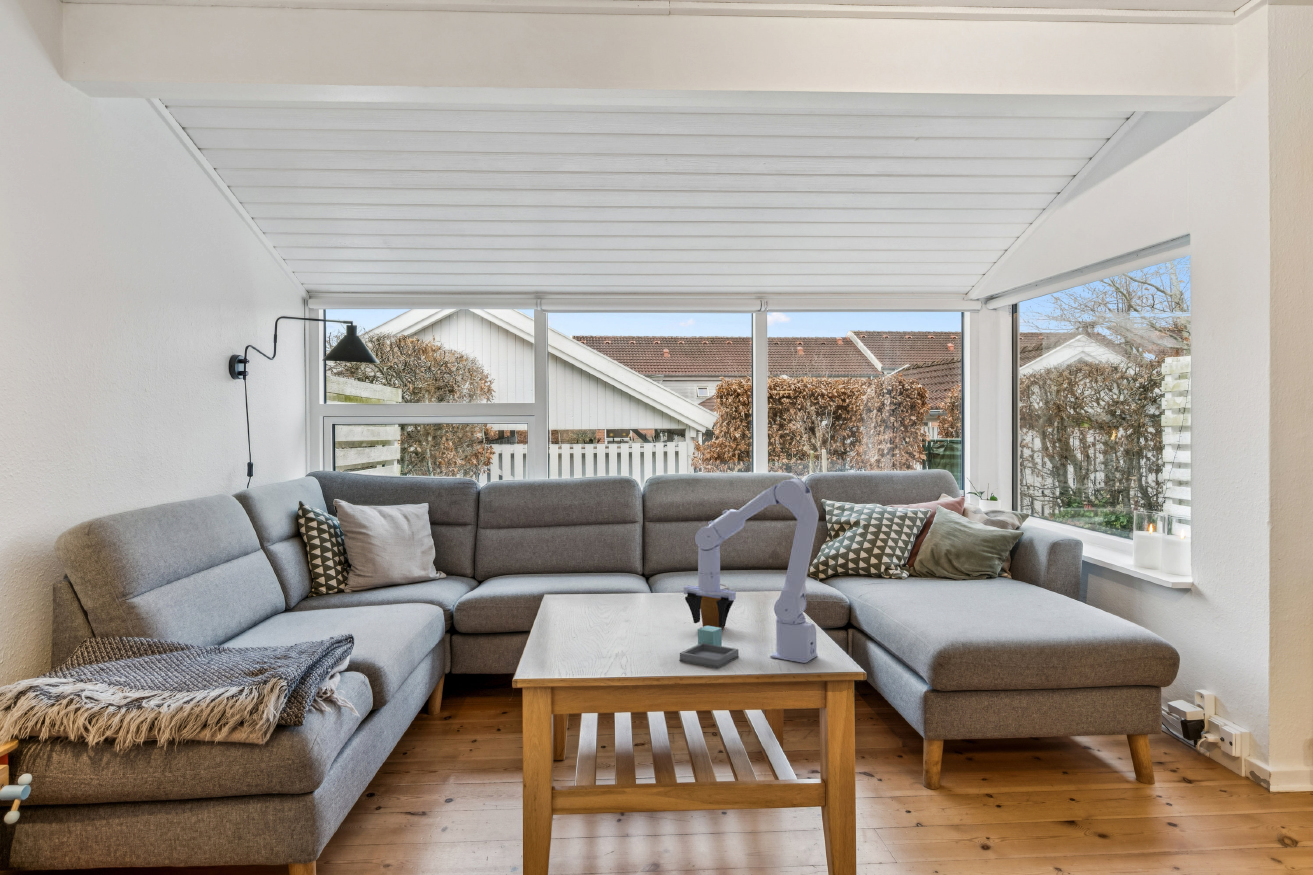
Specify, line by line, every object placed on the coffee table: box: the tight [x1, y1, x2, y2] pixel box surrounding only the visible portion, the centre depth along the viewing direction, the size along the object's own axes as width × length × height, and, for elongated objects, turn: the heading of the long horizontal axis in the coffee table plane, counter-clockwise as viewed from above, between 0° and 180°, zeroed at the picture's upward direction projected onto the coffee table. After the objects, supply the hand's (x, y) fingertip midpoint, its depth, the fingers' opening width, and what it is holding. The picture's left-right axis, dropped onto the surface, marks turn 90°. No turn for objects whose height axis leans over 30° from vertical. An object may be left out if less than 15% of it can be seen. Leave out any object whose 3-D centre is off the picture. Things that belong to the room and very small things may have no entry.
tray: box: [679, 643, 739, 669], centre depth 177 cm, size 11×11×2 cm
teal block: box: [697, 626, 723, 646], centre depth 187 cm, size 4×4×5 cm
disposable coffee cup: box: [700, 583, 731, 630], centre depth 207 cm, size 10×10×12 cm
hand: (709, 624), depth 187 cm, fingers open, 7 cm apart
